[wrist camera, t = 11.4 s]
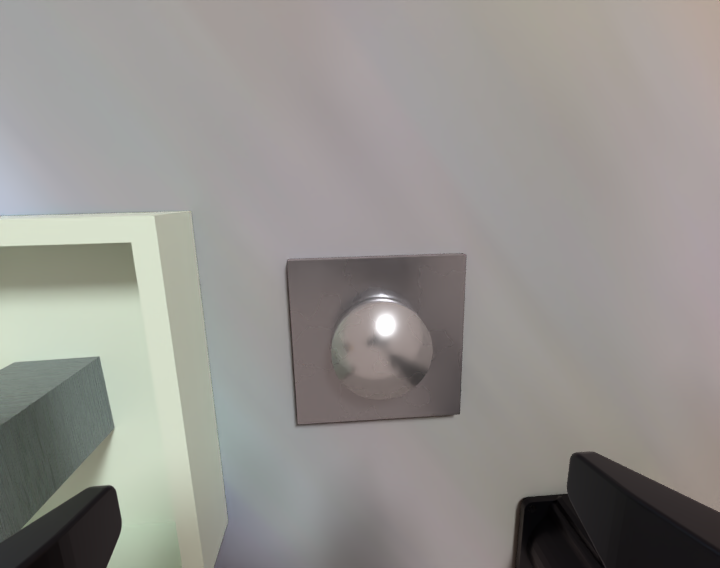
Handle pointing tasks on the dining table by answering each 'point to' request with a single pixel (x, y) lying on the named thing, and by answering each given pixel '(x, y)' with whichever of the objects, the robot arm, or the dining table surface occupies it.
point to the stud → (377, 336)
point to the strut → (46, 430)
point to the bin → (126, 368)
